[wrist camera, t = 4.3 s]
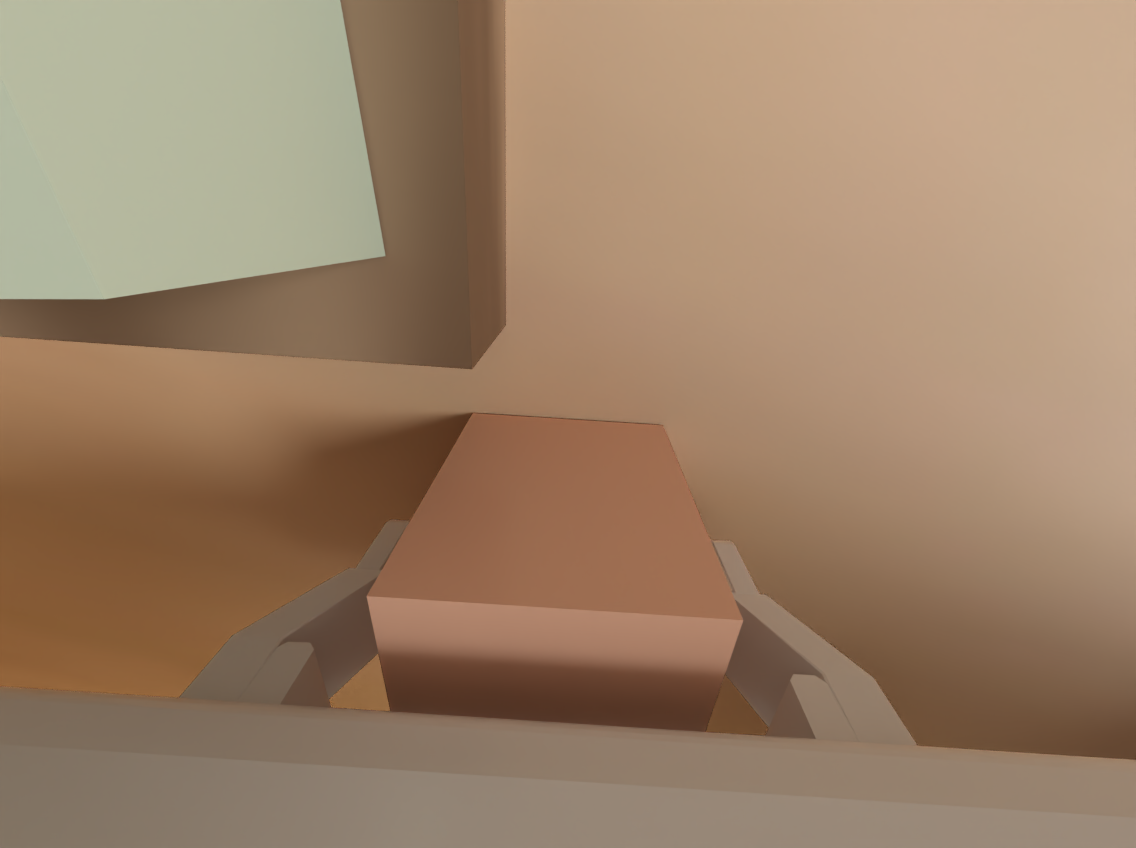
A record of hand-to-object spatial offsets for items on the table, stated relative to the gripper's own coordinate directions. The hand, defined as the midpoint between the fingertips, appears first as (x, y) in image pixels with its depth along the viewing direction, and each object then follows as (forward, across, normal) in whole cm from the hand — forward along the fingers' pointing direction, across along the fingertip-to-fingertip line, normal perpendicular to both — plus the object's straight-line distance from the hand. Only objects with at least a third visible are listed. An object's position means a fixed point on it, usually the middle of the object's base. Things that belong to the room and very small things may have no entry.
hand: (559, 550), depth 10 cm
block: (+2, 0, 0) cm, 2 cm away
